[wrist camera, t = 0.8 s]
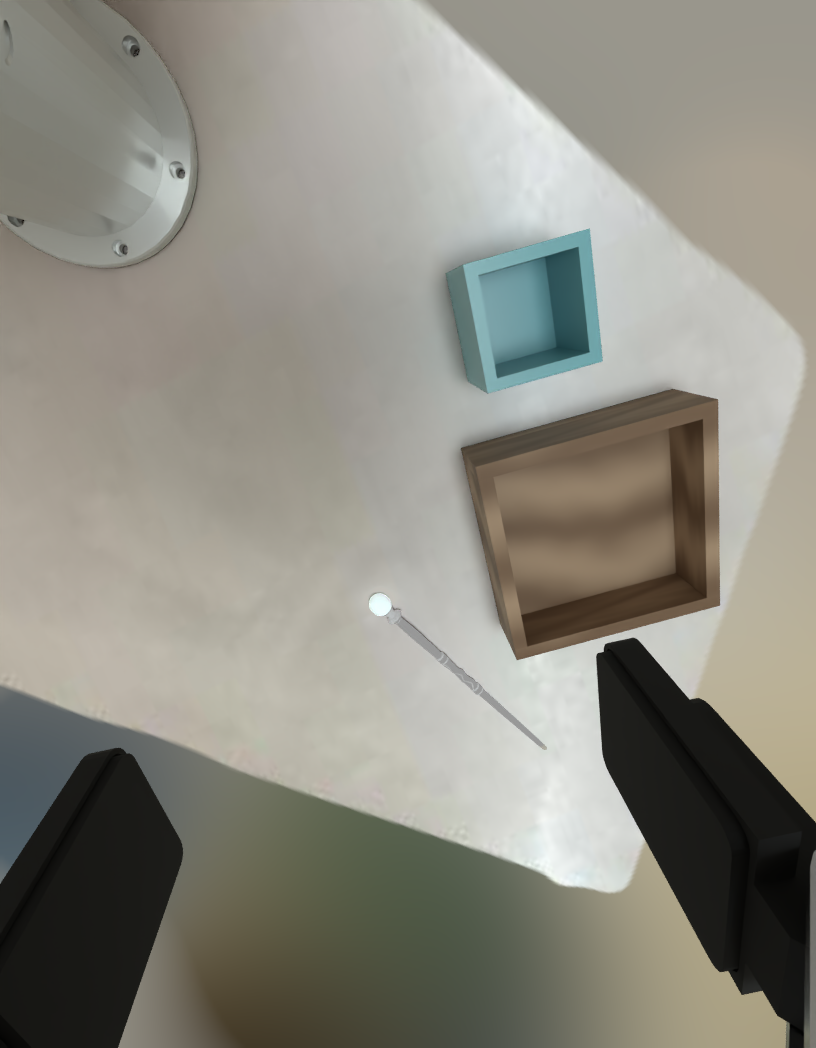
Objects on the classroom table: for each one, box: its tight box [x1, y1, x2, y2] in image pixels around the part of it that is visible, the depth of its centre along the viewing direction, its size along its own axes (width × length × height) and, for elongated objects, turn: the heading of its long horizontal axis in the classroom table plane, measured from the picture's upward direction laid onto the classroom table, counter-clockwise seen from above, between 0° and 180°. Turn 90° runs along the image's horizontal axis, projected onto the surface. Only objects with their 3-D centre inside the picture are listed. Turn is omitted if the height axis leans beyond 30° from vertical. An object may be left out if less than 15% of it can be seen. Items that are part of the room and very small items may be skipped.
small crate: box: [446, 229, 603, 393], centre depth 31 cm, size 7×7×6 cm
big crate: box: [461, 389, 720, 660], centre depth 37 cm, size 16×16×5 cm
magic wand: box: [369, 593, 547, 750], centre depth 45 cm, size 2×25×2 cm
